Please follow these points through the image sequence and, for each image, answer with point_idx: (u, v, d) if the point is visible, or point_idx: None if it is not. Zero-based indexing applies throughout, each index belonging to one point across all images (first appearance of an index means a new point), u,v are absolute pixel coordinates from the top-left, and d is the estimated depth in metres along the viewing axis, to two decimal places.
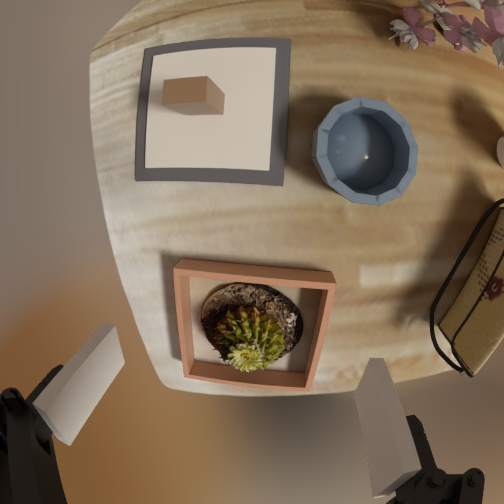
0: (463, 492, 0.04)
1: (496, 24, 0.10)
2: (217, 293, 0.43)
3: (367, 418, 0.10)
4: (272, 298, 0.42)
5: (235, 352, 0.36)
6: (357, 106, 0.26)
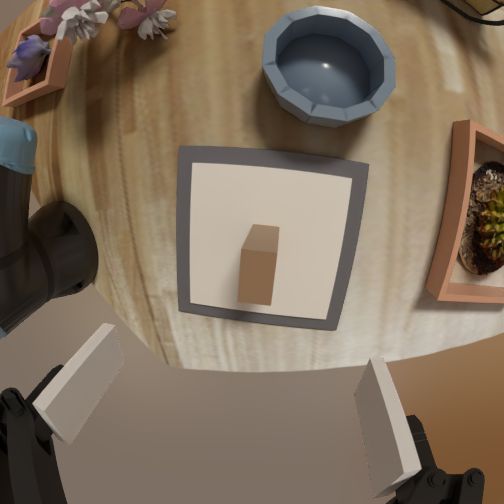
0: (463, 492, 0.04)
1: None
2: (461, 252, 0.29)
3: (367, 418, 0.10)
4: (473, 191, 0.26)
5: None
6: (275, 67, 0.21)
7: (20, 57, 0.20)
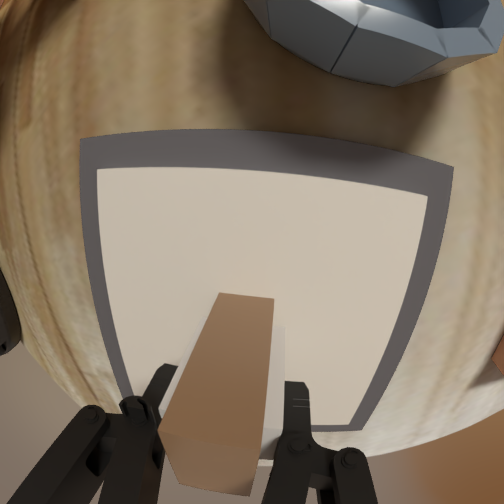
0: (340, 477, 0.06)
1: None
2: None
3: None
4: None
5: None
6: None
7: None
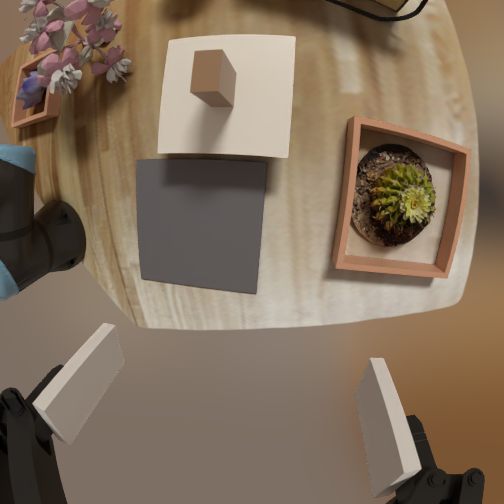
0: (463, 492, 0.04)
1: (79, 9, 0.18)
2: (358, 226, 0.41)
3: (367, 418, 0.10)
4: (363, 173, 0.38)
5: (408, 214, 0.32)
6: None
7: (26, 92, 0.31)
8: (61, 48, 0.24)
